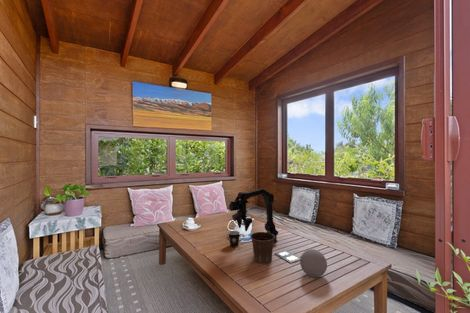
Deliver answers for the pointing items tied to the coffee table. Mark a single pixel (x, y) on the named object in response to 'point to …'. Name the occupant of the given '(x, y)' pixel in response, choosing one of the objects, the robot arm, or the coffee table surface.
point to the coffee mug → (234, 238)
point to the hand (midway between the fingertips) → (242, 229)
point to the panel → (288, 256)
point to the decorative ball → (313, 263)
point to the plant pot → (262, 246)
